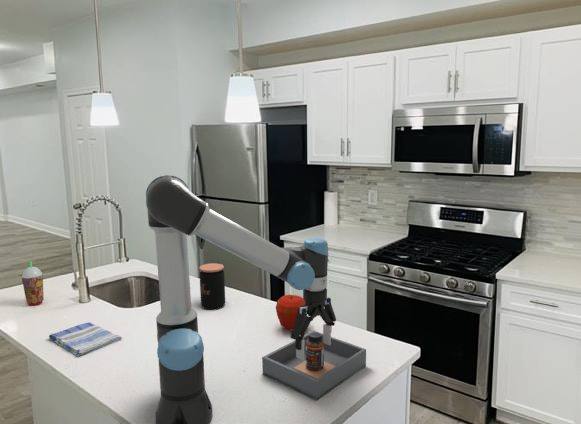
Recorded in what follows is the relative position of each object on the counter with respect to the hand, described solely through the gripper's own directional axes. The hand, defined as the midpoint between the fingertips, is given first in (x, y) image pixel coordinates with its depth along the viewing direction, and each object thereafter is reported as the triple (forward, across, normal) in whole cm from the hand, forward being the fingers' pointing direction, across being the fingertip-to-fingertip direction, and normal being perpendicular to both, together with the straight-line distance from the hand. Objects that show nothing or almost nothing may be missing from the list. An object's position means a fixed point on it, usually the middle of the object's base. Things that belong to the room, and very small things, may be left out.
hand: (313, 350), depth 150 cm
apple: (+7, +19, +27) cm, 34 cm away
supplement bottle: (+6, 0, 0) cm, 6 cm away
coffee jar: (+8, +14, +69) cm, 71 cm away
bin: (+7, 0, 0) cm, 7 cm away
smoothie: (+9, -36, +132) cm, 137 cm away
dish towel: (+9, -38, +79) cm, 88 cm away
